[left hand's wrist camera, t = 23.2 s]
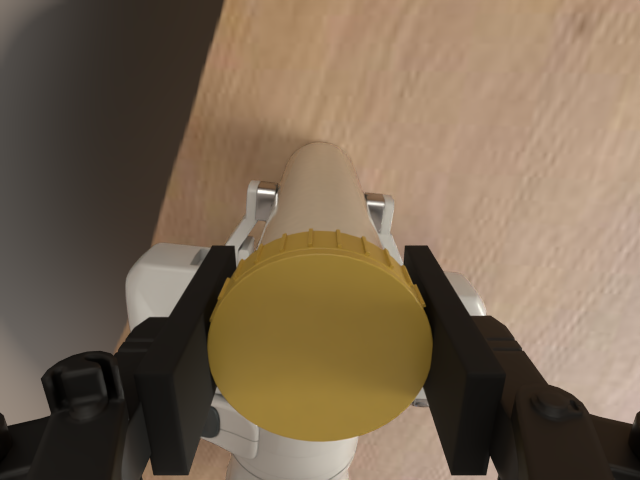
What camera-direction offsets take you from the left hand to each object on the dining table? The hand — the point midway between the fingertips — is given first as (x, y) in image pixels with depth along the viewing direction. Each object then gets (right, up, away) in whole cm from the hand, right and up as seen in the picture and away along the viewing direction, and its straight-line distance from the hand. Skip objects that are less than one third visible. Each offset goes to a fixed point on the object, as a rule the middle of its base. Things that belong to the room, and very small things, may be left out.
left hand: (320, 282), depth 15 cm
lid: (0, -1, -4) cm, 4 cm away
